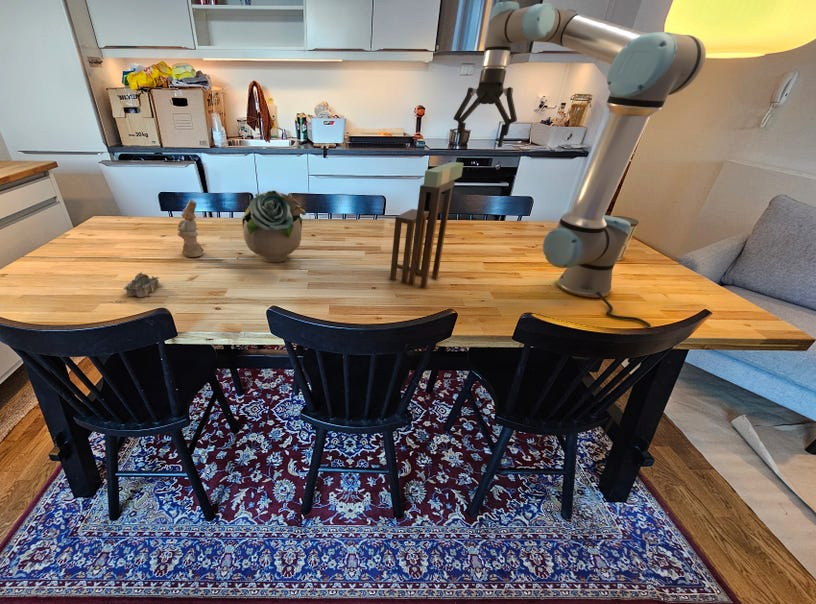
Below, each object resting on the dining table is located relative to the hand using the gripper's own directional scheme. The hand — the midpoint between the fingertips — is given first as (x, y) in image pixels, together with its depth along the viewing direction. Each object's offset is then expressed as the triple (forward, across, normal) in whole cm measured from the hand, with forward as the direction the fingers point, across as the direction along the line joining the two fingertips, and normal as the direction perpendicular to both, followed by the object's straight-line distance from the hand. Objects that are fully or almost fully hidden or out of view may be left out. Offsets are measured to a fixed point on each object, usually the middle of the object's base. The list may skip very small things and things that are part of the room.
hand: (479, 145), depth 135 cm
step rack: (+40, +5, +30) cm, 50 cm away
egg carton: (+42, +73, +89) cm, 122 cm away
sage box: (+8, +1, +28) cm, 29 cm away
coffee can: (+37, -49, -34) cm, 70 cm away
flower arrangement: (+40, +57, +44) cm, 82 cm away
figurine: (+40, +86, +58) cm, 111 cm away
